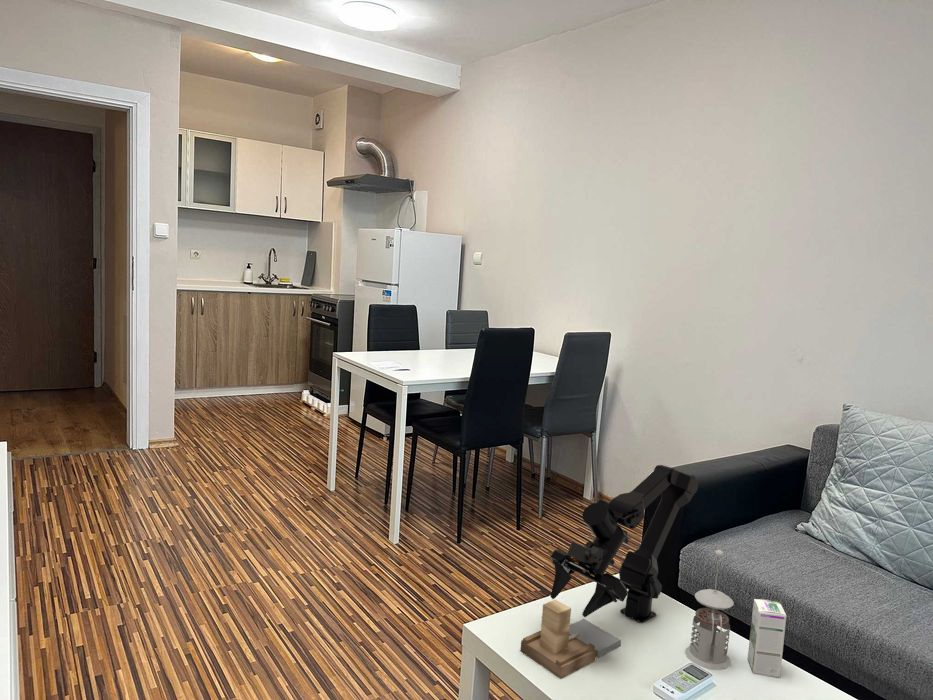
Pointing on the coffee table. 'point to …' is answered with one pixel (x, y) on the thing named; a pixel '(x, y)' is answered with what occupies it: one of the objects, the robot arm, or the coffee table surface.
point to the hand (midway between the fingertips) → (567, 606)
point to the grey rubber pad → (595, 637)
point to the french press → (711, 629)
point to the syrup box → (766, 637)
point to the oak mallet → (556, 627)
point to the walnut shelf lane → (559, 655)
